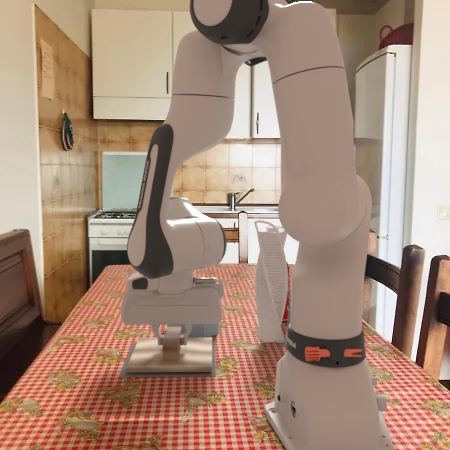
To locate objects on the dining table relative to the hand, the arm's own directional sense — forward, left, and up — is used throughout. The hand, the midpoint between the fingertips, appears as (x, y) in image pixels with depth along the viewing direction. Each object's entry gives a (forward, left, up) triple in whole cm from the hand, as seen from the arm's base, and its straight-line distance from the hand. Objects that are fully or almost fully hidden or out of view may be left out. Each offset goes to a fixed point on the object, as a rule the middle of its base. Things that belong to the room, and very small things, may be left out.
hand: (172, 344), depth 98 cm
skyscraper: (+11, -22, -4) cm, 25 cm away
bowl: (+17, -4, -3) cm, 18 cm away
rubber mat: (0, 0, -3) cm, 3 cm away
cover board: (0, 0, -2) cm, 2 cm away
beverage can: (+27, -26, -4) cm, 37 cm away
